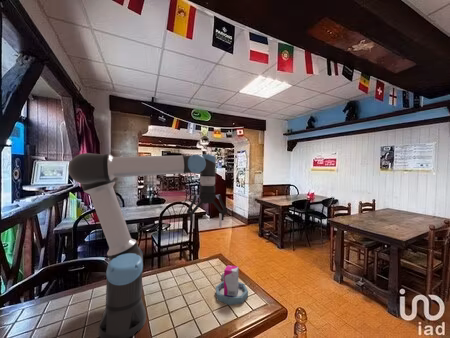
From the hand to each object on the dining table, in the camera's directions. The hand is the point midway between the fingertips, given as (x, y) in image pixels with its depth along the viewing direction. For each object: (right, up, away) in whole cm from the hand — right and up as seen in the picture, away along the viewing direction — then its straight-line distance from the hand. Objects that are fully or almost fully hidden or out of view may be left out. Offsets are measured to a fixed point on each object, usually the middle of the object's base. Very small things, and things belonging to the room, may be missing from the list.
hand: (206, 227), depth 97 cm
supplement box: (+12, -28, -8) cm, 32 cm away
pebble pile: (+10, -29, +6) cm, 32 cm away
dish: (+12, -29, -8) cm, 32 cm away
